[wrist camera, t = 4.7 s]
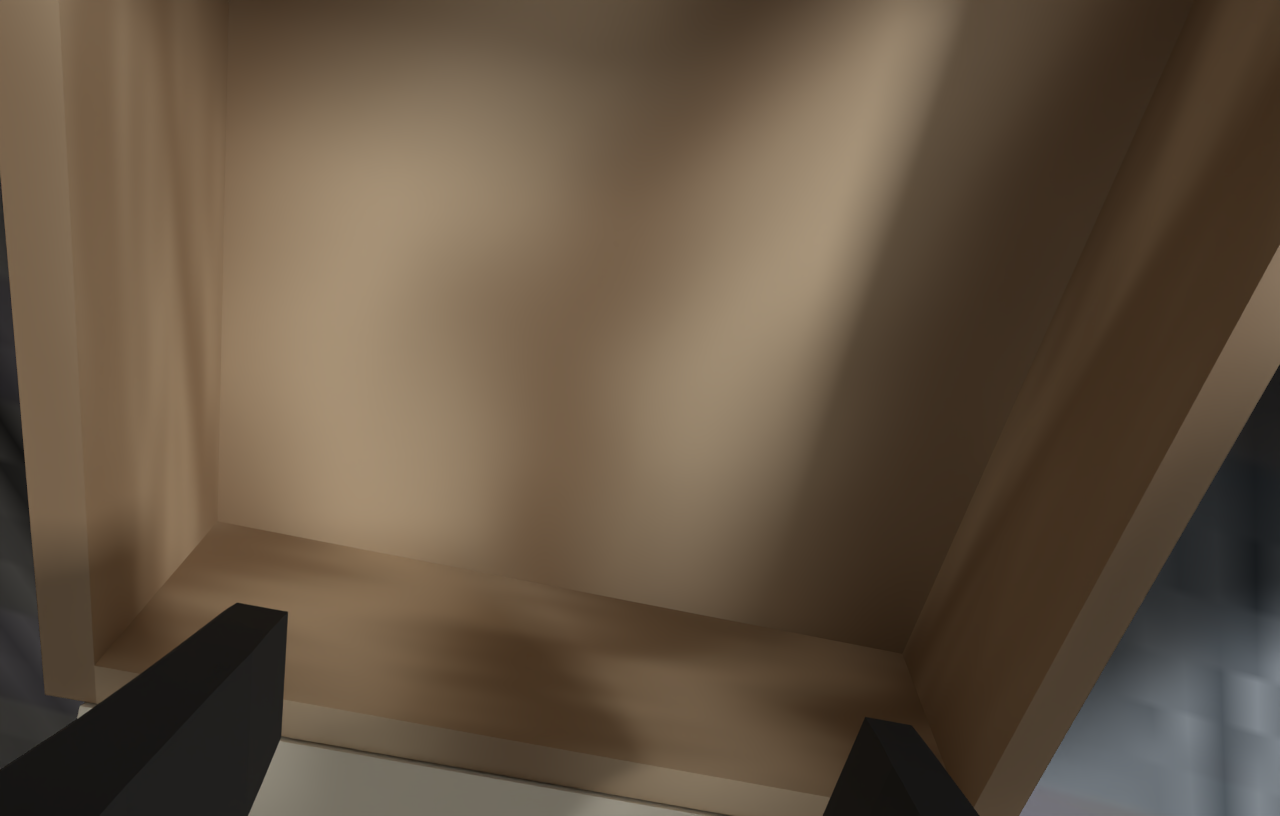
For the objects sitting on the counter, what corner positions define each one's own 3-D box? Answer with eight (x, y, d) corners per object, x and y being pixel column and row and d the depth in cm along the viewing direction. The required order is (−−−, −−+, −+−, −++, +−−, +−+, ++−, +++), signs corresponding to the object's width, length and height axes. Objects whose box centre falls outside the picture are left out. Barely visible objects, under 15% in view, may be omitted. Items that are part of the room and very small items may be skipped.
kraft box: (1287, -152, 13) (1627, -237, 8) (915, 663, 20) (992, 861, 15) (204, -452, 12) (-78, -738, 7) (196, 524, 18) (44, 695, 14)
